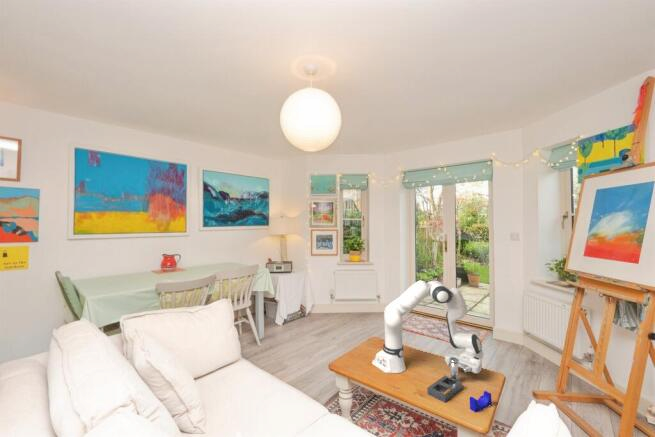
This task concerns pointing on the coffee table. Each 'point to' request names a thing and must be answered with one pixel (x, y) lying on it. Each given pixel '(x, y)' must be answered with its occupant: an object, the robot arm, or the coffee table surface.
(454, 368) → the steel bushing
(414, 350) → the coffee table surface
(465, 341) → the robot arm
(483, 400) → the cable clip
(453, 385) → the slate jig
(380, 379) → the coffee table surface
